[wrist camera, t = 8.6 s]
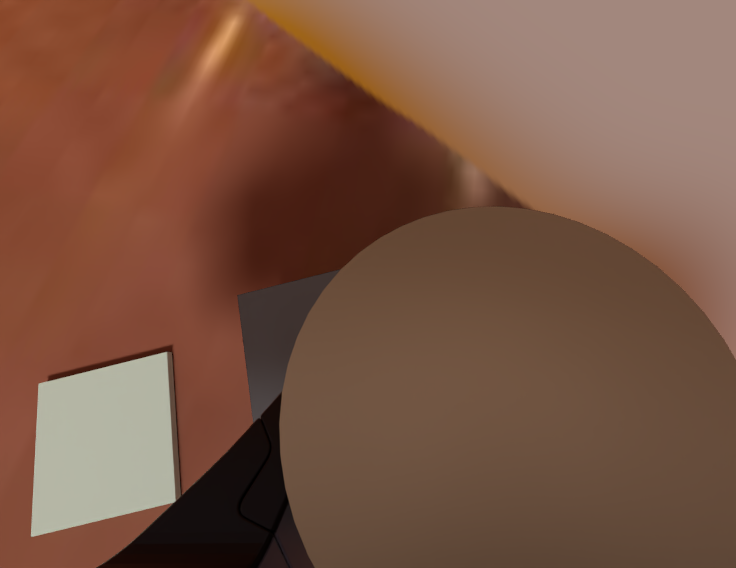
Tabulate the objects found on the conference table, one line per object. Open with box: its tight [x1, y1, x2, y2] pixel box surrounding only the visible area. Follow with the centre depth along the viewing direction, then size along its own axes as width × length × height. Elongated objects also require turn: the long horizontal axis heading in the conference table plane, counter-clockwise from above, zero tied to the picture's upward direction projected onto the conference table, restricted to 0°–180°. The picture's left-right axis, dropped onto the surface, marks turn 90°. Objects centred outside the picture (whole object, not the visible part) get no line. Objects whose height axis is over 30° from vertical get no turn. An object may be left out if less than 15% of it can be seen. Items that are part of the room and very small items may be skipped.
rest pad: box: [31, 352, 181, 537], centre depth 16 cm, size 7×7×1 cm
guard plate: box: [237, 269, 341, 423], centre depth 13 cm, size 10×12×3 cm
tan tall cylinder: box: [279, 206, 736, 568], centre depth 8 cm, size 4×4×12 cm
